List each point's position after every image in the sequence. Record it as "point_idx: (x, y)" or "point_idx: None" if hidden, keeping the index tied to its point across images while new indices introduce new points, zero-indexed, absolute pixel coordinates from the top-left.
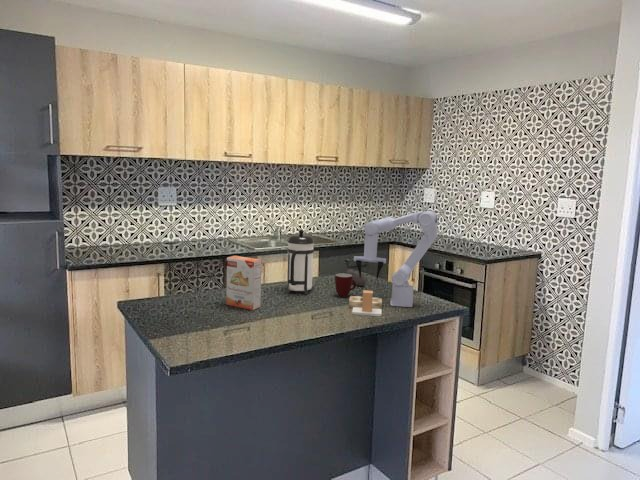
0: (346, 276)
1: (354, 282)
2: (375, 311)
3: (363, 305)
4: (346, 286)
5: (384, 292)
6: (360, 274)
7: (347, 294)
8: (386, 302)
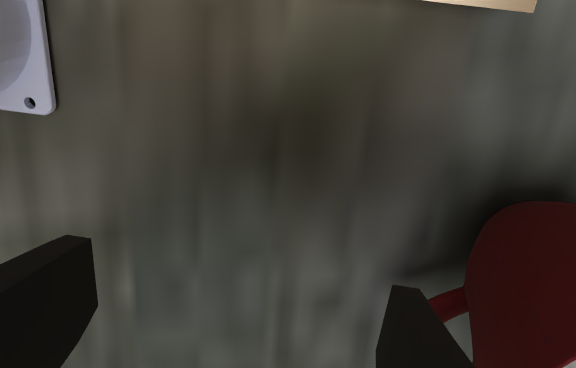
0: None
1: None
2: None
3: None
4: (569, 236)
5: (132, 359)
6: (417, 317)
7: (493, 218)
8: (92, 63)
